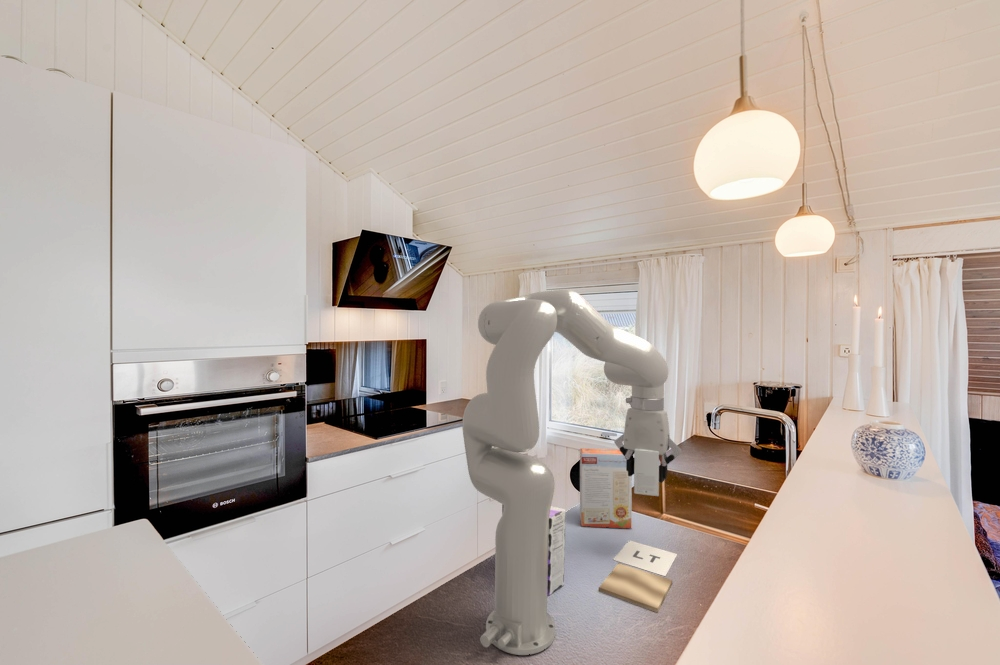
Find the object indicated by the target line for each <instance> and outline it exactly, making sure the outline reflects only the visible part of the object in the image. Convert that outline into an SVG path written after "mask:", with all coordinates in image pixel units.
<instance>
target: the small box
mask: <svg viewBox="0 0 1000 665" xmlns="http://www.w3.org/2000/svg"><path fill="white" fill-rule="evenodd" d="M633 457H634V474H633V480H634V481H633V493H634V494H636V495H644V496H652V497H654V496H655V497H659V496H660V494H659V493H660V491H659V490H660V482H659V465H660V460H659V452H658V451H651V450H645V449H635V450H634V455H633Z"/></svg>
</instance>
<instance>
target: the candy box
mask: <svg viewBox="0 0 1000 665" xmlns="http://www.w3.org/2000/svg"><path fill="white" fill-rule="evenodd" d="M501 504H502V503H501ZM501 506H502V509H501V512H502V513H501V515H503V513H504V509H505V508H504V505H503V504H502V505H501ZM565 538H566V509H565V508H560V507H557V506H554V505H551V508H550V514H549V524H548V578H547V596H551V595H552V594H554V593H555V592H556V591H559V589H561V588H562V587H564V586H565V554H566V553H565V545H566V544H565V542H566V539H565Z"/></svg>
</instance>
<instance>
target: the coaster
mask: <svg viewBox="0 0 1000 665" xmlns="http://www.w3.org/2000/svg"><path fill="white" fill-rule="evenodd" d="M672 586H673V579H670V578H668V577H665V576H662V575H659V574H655V573H652V572H649V571H646V570H643V569H640V568H637V567H633V566H630V565H627V564H624V563H621V562H618V563H617V564H616V565H615V567H613V569H612V570H611V572H610V573H609V574H608V576H607V577H606V578H605V579H604V580H603V582H602V583H601V584H600V585H599V587H598V592H600V593H603V594H606V595H608V596H611V597H614V598H616V599H619V600H622V601H625V602H628V603H630V604H633V605H636V606H639V607H641V608H643V609H646V610H650V611H652V612H654V613H659V611H660V609H661V608H662V605H663V603H664V601H665V599H666V597H667V596H668V594H669V592H670V589H671V587H672Z"/></svg>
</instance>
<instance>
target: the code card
mask: <svg viewBox="0 0 1000 665" xmlns="http://www.w3.org/2000/svg"><path fill="white" fill-rule="evenodd" d="M627 542H628V543H627ZM627 542H626V543H625V545H623V547H622V548H621V549H620V551H618V553H617V554H616V555H615V557H613V559H612V560H613V561H615V562H618V563H620V564H623V565H627V566H630V567H633V568H636V569H639V570H642V571H645V572H649V573H652V574H655V575H658V576H661V577H666V576H667V574H668V572H669V571H670V569H671V567H672V565H673V563H674V562H675V560H676V557H677V556H678V554H677V553H674V552H671V551H668V550H664V549H661V548H657V547H654V546H650V545H647V544H644V543H640V542H636V541H633V540H630V542H629V540H628V541H627ZM627 544H628V545H627ZM624 547H625V548H624Z"/></svg>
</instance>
